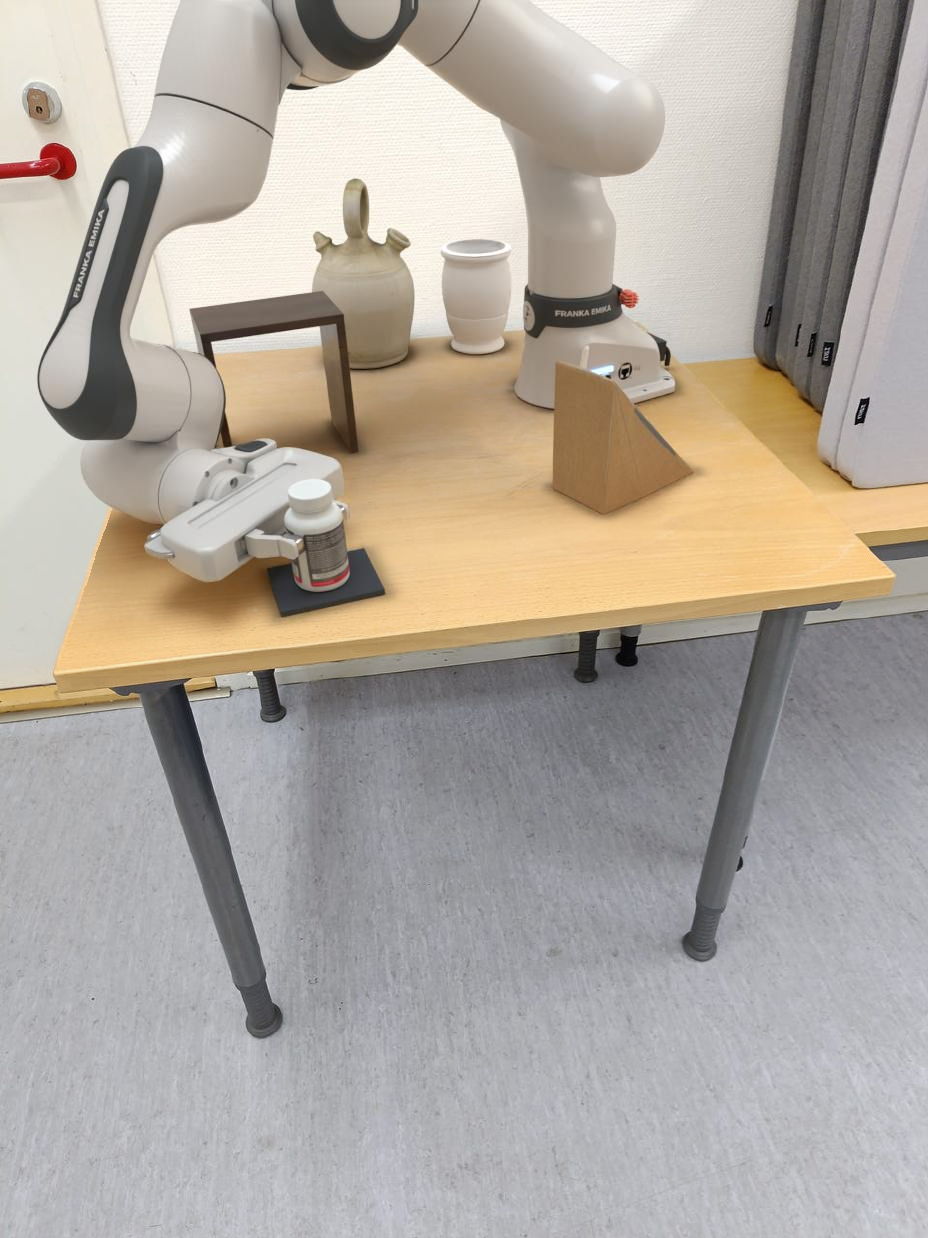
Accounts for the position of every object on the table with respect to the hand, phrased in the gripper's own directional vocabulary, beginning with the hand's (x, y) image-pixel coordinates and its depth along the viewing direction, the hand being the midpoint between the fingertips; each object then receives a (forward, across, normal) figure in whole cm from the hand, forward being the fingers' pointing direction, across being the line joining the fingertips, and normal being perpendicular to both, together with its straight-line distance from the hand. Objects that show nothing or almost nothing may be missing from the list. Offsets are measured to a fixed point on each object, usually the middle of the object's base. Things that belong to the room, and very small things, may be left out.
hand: (323, 531), depth 80 cm
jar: (-21, +65, +6) cm, 69 cm away
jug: (-34, +54, +6) cm, 64 cm away
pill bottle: (-1, 0, +6) cm, 6 cm away
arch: (-24, +22, +6) cm, 33 cm away
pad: (-1, 0, +6) cm, 6 cm away
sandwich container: (+17, +34, +6) cm, 38 cm away
